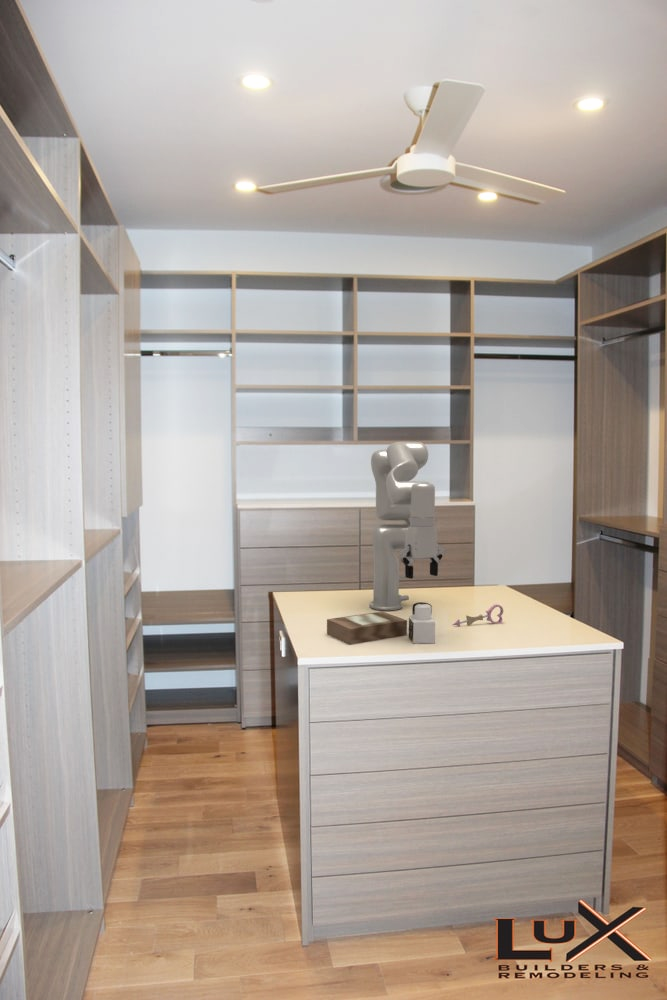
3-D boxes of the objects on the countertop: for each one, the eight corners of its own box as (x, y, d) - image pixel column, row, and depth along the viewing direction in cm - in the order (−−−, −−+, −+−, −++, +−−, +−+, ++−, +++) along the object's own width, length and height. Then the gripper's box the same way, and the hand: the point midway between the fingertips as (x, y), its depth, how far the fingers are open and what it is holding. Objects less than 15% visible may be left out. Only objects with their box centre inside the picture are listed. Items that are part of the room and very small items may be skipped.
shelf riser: (382, 625, 254) (382, 610, 253) (406, 635, 242) (407, 619, 241) (326, 634, 242) (326, 618, 242) (349, 644, 230) (350, 628, 230)
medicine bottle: (408, 637, 239) (409, 601, 238) (430, 637, 239) (430, 600, 238) (412, 643, 232) (413, 606, 231) (435, 643, 232) (435, 605, 231)
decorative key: (452, 634, 254) (503, 621, 260) (453, 635, 253) (504, 622, 259) (449, 616, 253) (500, 603, 259) (451, 616, 252) (502, 603, 258)
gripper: (436, 520, 240) (435, 572, 241) (392, 522, 231) (392, 577, 232) (451, 522, 234) (450, 576, 235) (407, 525, 225) (406, 581, 226)
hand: (421, 576), depth 234 cm, fingers open, 9 cm apart
